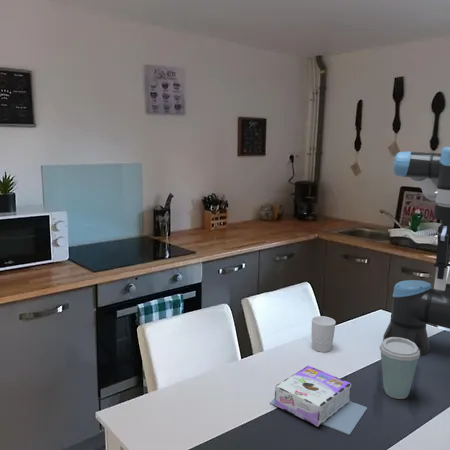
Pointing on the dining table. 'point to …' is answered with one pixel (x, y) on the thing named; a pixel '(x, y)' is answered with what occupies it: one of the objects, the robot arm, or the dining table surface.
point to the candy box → (312, 395)
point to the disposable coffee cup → (398, 365)
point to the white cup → (322, 333)
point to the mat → (343, 417)
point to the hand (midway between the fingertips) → (439, 289)
